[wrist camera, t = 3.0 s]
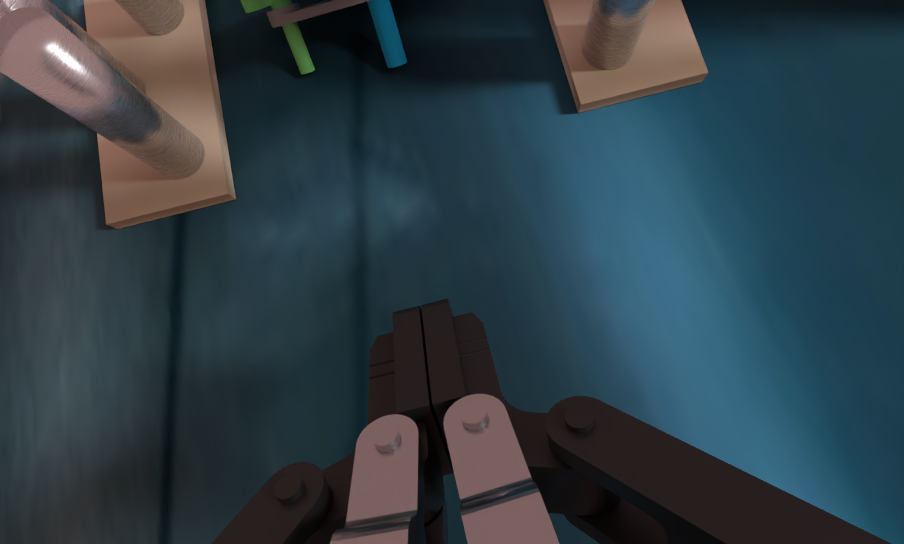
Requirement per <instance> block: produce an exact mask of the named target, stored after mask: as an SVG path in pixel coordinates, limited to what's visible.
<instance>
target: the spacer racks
mask: <svg viewBox="0 0 904 544" xmlns="http://www.w3.org/2000/svg"><path fill="white" fill-rule="evenodd" d="M180 1H181V2H182V4H183V6H184V17H183V20H182V22H181V23H180V25H179V26H178V27H177V28H176V29H175V30H173V31H172V32H170V33H168V34H165V35H160V36H156V35H151V34H149V33H147V32H145V31H144V30H143V29H142V28H141V27H140V26H139V25H138V24H137V23H136V22H135V21H134V20H133V19H132V18H131V17H130V16H129V15H128V14H127V13H126V12H125V11H124V10H123V9H122V8H121V7H120V6H119V5H118V4H117V3H116V1H115V0H84V8H85V18H86V28H87V33H88V34H89V35H90V36H91V37H93V38H94V39H95V40H96V41H97V42H98V43H100V44H101V45H102V46H103V47H104V48H105V49H107V50H108V51H109V52H110V53H111V54H112V55H113V56H115V57H116V58H117V59H118V60H119V61H120V62H122V63H123V64H124V65H125V66H126V67H127V68H129V69H130V70H131V71H132V72H133V73H134V74H135V75H137V76H138V77H139V78H140V79H141V80H142V81H143V83H144V85H145V88H146V95H147V96H148V97H150V98H151V99H152V100H153V101H154V102H156V103H157V104H158V105H159V106H160V107H162V108H163V109H164V110H165V111H166V112H168V113H169V114H170V115H171V116H173V117H174V118H175V119H176V120H177V121H179V122H180V123H181V124H182V125H183V126H185V127H186V128H187V129H188V130H189V131H191V132H192V133H193V134H194V135H195V136H197V137H198V138H199V139H200V140H201V142H202V143H203V146H204V149H205V157H204V161H203V163H202V165H201V167H200V168H199V169H198V171H197V172H196V173H194V174H193V175H191V176H190V177H187V178H185V179H178V180H177V179H171V178H168V177H166V176H165V175H163V174H161V173H160V172H158V171H157V170H155V169H153V168H152V167H150V166H149V165H147V164H146V163H144V162H142V161H141V160H139V159H138V158H136V157H134V156H133V155H131V154H130V153H128V152H127V151H125V150H123V149H122V148H120V147H119V146H117V145H115V144H114V143H112V142H111V141H109V140H108V139H106V138H104V137H103V136H101V135H100V134H98V133H97V138H98V148H99V158H100V168H101V178H102V188H103V198H104V208H105V218H106V225H109V226H111V227H114V228H116V229H120V228H124V227H128V226H132V225H136V224H140V223H144V222H148V221H152V220H156V219H160V218H164V217H168V216H172V215H176V214H180V213H184V212H187V211H191V210H195V209H199V208H203V207H207V206H211V205H215V204H219V203H223V202H227V201H231V200H235V199H236V197H235V190H234V184H233V178H232V171H231V165H230V158H229V152H228V146H227V139H226V133H225V126H224V120H223V114H222V107H221V101H220V94H219V88H218V82H217V75H216V69H215V62H214V56H213V49H212V43H211V37H210V30H209V24H208V17H207V11H206V5H205V0H180ZM543 2H544V5H545V8H546V11H547V15H548V18H549V21H550V24H551V27H552V31H553V34H554V37H555V40H556V43H557V47H558V50H559V53H560V56H561V59H562V63H563V66H564V69H565V72H566V75H567V79H568V82H569V85H570V88H571V91H572V95H573V98H574V101H575V104H576V107H577V111H578V113H580V112H584V111H588V110H592V109H596V108H600V107H604V106H608V105H612V104H616V103H620V102H624V101H628V100H632V99H636V98H640V97H644V96H648V95H652V94H656V93H660V92H664V91H668V90H672V89H676V88H680V87H684V86H687V85H691V84H695V83H699V82H702V81H703V79H704V78H705V77H706V75H707V74H708V70H707V68H706V65H705V62H704V60H703V57H702V54H701V52H700V49H699V46H698V44H697V41H696V38H695V36H694V33H693V30H692V28H691V25H690V22H689V20H688V17H687V15H686V12H685V9H684V7H683V4H682V1H681V0H655V3H654V5H653V7H652V10H651V12H650V14H649V17H648V19H647V21H646V24H645V26H644V29H643V31H642V33H641V36H640V38H639V40H638V43H637V45H636V47H635V50H634V52H633V54H632V57H631V58H630V60H629V61H628V62H627V63H626V64H625V65H624V66H622V67H620V68H618V69H614V70H601V69H598V68H595V67H594V66H592V65H591V64H589V63H588V62H587V60H586V59H585V57H584V55H583V53H582V42H583V38H584V34H585V30H586V27H587V23H588V19H589V15H590V11H591V8H592V4H593V0H543Z"/></svg>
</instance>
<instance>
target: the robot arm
mask: <svg viewBox="0 0 904 544" xmlns="http://www.w3.org/2000/svg"><path fill="white" fill-rule="evenodd" d="M369 366H370V369H369V379H370V381H369V406H368V426H367V427H366V428H365V429H364V430H363V431H362V433H361V434H360V436H359V438H358V440H357V444H356V449H355V450H354V451H353V452H352V453H351V454H350V455H348V456H347V457H346V458H344V459H342V460H341V461H339V462H337V463H335V464H333V465H331V466H330V467H328V468H326V469H324V470H322V471H321V470H320V469H319V468H318V467H317V466H316V465H314V464H312V463H307V462H299V463H294V464H291V465H289V466H287V467H284V468H283V469H281V470H279V471H278V472H277V473H275V474H274V475H273V476H272V477H271V478H270V479H269V480H268V481H267V482H266V483H265V485H264V486H263V487H262V488H261V489H260V490H259V491H258V492H257V494H256V495H255V496H254V497H253V498H252V499H251V500H250V501H249V503H248V504H247V505H246V506H245V507H244V508H243V509H242V510H241V512H240V513H239V514H238V515H237V516H236V517H235V518H234V519H233V520H232V522H231V523H230V524H229V525H228V526H227V527H226V528H225V529H224V531H223V532H222V533H221V534H220V535H219V536H218V537H217V538H216V540H215V541H214V542H213V543H212V544H448V518H447V504H446V501H445V498H444V497H445V495H444V484H443V476H444V475H448V474H452V473H453V470H454V474H455V478H456V483H457V487H458V491H459V496H460V500H461V505H460V510H461V515H462V520H463V524H464V529H465V533H466V538H467V542H468V544H559V541H558V539H557V536H556V533H555V531H554V528H553V526H552V523H551V520H550V518H549V515H548V513H558V514H564V516H565V517H566V519H567V520H568V521H569V522H570V523H571V524H573V525H574V526H575V527H577V528H578V529H580V530H581V531H583V532H584V533H585V534H587V535H588V536H590V537H591V538H593V539H594V540H595V541H597V542H598V543H600V544H891V543H889V542H887V541H885V540H883V539H881V538H879V537H877V536H875V535H872V534H870V533H868V532H866V531H864V530H862V529H860V528H858V527H856V526H854V525H852V524H850V523H848V522H846V521H844V520H842V519H840V518H838V517H836V516H834V515H832V514H830V513H828V512H826V511H824V510H822V509H820V508H818V507H815V506H813V505H811V504H809V503H807V502H805V501H803V500H801V499H799V498H797V497H795V496H793V495H791V494H789V493H787V492H785V491H783V490H781V489H779V488H777V487H775V486H773V485H771V484H769V483H767V482H765V481H763V480H761V479H758V478H756V477H754V476H752V475H750V474H748V473H746V472H744V471H742V470H740V469H738V468H736V467H734V466H732V465H730V464H728V463H726V462H724V461H722V460H720V459H718V458H716V457H714V456H712V455H710V454H708V453H706V452H704V451H701V450H699V449H697V448H695V447H693V446H691V445H689V444H687V443H685V442H683V441H681V440H679V439H677V438H675V437H673V436H671V435H669V434H667V433H665V432H663V431H661V430H659V429H657V428H655V427H653V426H651V425H649V424H647V423H644V422H642V421H640V420H638V419H636V418H634V417H632V416H630V415H628V414H626V413H624V412H622V411H620V410H618V409H616V408H614V407H612V406H610V405H608V404H606V403H604V402H602V401H600V400H597V399H595V398H591V397H586V396H575V397H569V398H566V399H564V400H561V401H560V402H558V403H556V404H555V405H554V406H553V407H552V408H551V409H550V411H549V412H548V413H532V412H526V411H522V410H519V409H517V408H515V407H513V406H511V405H510V404H509V403H508V402H507V401H506V400H505V399H504V397H503V396H502V393H501V390H500V386H499V382H498V378H497V375H496V371H495V367H494V363H493V359H492V356H491V352H490V348H489V344H488V341H487V337H486V333H485V329H484V325H483V322H482V321H480V320H479V319H478V318H477V317H476V316H475V315H474V314H473V313H472V312H471V313H467V314H463V315H459V316H455V317H453V313H452V310H451V306H450V303H449V300H448V299H445V300H441V301H437V302H433V303H429V304H425V305H422V310H421V307H420V306H417V307H413V308H409V309H405V310H401V311H397V312H393V332H391V333H387V334H383V335H379V336H377V338H376V340H375V342H374V344H373V346H372V348H371V349H370V362H369ZM452 465H453V468H452Z"/></svg>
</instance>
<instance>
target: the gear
mask: <svg viewBox="0 0 904 544" xmlns="http://www.w3.org/2000/svg"><path fill="white" fill-rule="evenodd" d="M363 2H367V3H368V6H369V9H370V13H371V16H372V19H373V22H374V25H375V29H376V32H377V35H378V38H379V42H380V45H381V48H382V51H383V54H384V58H385V61H386V64H387V67H388V68H394V67H398V66H401V65H403V64H405V63H407V59H406V56H405V52H404V49H403V45H402V42H401V38H400V35H399V31H398V28H397V24H396V21H395V18H394V14H393V11H392V7H391V4H390V0H323V1H320V2H317V3H313V4H310V5H306V6H303V7H301V5H300V2H299V1H297V2H293V3H292V0H241V3H242V5H243V7H244V10H245V12H246V13H250V12H253V11H257V10H260V9H263V8H265V7H268V6H271V8H272V9H271V10H269V11H266V13H267V16H268V18H269V21H270V23H271V26H272V28H275V27H279V26H282V28H283V30H284V33H285V35H286V38H287V40H288V43H289V45H290V48H291V50H292V53H293V55H294V58H295V60H296V63H297V65H298V68H299V70H300V73H301V74H307V73H310V72H312V71H314V70H315V68H314V66H313V63H312V61H311V58H310V55H309V53H308V50H307V47H306V45H305V42H304V40H303V37H302V34H301V32H300V29H299V27H298V24H297V21H300V20H304V19H307V18H311V17H314V16H318V15H321V14H325V13H328V12H332V11H335V10H339V9H342V8H346V7H349V6H353V5H356V4H360V3H363Z"/></svg>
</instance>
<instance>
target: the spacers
mask: <svg viewBox="0 0 904 544" xmlns="http://www.w3.org/2000/svg"><path fill="white" fill-rule="evenodd" d="M115 1H116V3H117V4H118V5H119V6H120V7H121V8H122V9H123V10H124V11H125V12H126V13H127V14H128V15H129V16H130V17H131V18H132V19H133V20H134V21H135V22H136V23H137V24H138V25H139V26H140V27H141V28H142V29H143V30H144V31H145V32H147V33H149V34H151V35H156V36H160V35H165V34H168V33H170V32H172V31H173V30H175V29H176V28H177V27H178V26H179V25H180V23H181V22H182V20H183V17H184V6H183V4H182V2H181V1H180V0H115ZM654 3H655V0H593V4H592V8H591V11H590V15H589V19H588V23H587V27H586V30H585V34H584V38H583V42H582V53H583V55H584V57H585V59H586V60H587V62H588V63H589V64H591V65H592V66H594V67H595V68H598V69H601V70H614V69H618V68H620V67H622V66H624V65H625V64H626V63H627V62H628V61H629V60H630V58H631V57H632V54H633V52H634V50H635V47H636V45H637V43H638V40H639V38H640V36H641V33H642V31H643V29H644V26H645V24H646V21H647V19H648V17H649V14H650V12H651V10H652V7H653V5H654ZM0 72H1V73H3V74H5V75H6V76H8V77H9V78H11V79H12V80H14V81H16V82H17V83H19V84H20V85H22V86H24V87H25V88H27V89H28V90H30V91H31V92H33V93H35V94H36V95H38V96H39V97H41V98H43V99H44V100H46V101H47V102H49V103H50V104H52V105H54V106H55V107H57V108H58V109H60V110H62V111H63V112H65V113H66V114H68V115H69V116H71V117H73V118H74V119H76V120H77V121H79V122H81V123H82V124H84V125H85V126H87V127H88V128H90V129H92V130H93V131H95V132H96V133H98V134H100V135H101V136H103V137H104V138H106V139H108V140H109V141H111V142H112V143H114V144H115V145H117V146H119V147H120V148H122V149H123V150H125V151H127V152H128V153H130V154H131V155H133V156H134V157H136V158H138V159H139V160H141V161H142V162H144V163H146V164H147V165H149V166H150V167H152V168H153V169H155V170H157V171H158V172H160V173H161V174H163V175H165V176H166V177H168V178H171V179H177V180H178V179H185V178H187V177H190V176H191V175H193V174H194V173H196V172H197V171H198V169H199V168H200V167H201V165H202V163H203V161H204V157H205V149H204V146H203V143H202V142H201V140H200V139H199V138H198V137H197V136H195V135H194V134H193V133H192V132H191V131H189V130H188V129H187V128H186V127H185V126H183V125H182V124H181V123H180V122H179V121H177V120H176V119H175V118H174V117H173V116H171V115H170V114H169V113H168V112H166V111H165V110H164V109H163V108H162V107H160V106H159V105H158V104H157V103H156V102H154V101H153V100H152V99H151V98H150V97H148V96H147V95H146V88H145V85H144V83H143V81H142V80H141V79H140V78H139V77H138V76H137V75H135V74H134V73H133V72H132V71H131V70H130V69H129V68H127V67H126V66H125V65H124V64H123V63H122V62H120V61H119V60H118V59H117V58H116V57H115V56H113V55H112V54H111V53H110V52H109V51H108V50H107V49H105V48H104V47H103V46H102V45H101V44H100V43H98V42H97V41H96V40H95V39H94V38H93V37H91V36H90V35H89V34H88V33H87V32H86V31H84V30H83V29H82V28H81V27H80V26H79V25H78V24H76V23H75V22H74V21H73V20H72V19H71V18H69V17H68V16H67V15H66V14H65V13H64V12H62V11H61V10H60V9H59V8H58V7H57V6H56V5H54V4H53V3H52V2H51V1H50V0H0Z"/></svg>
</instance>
